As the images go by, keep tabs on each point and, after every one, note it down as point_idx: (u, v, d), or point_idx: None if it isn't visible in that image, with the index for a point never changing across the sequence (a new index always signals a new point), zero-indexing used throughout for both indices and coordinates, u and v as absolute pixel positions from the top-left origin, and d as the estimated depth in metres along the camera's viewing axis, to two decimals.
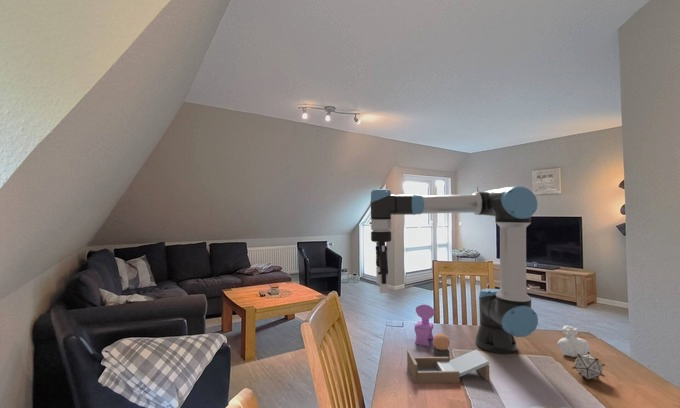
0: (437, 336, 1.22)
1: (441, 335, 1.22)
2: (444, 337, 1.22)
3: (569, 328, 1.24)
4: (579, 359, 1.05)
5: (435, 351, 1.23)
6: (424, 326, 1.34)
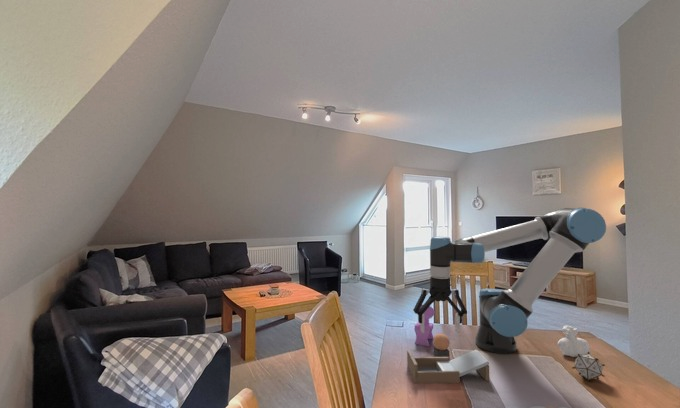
0: (437, 336, 1.22)
1: (441, 335, 1.22)
2: (444, 337, 1.22)
3: (569, 328, 1.24)
4: (579, 359, 1.05)
5: (435, 351, 1.23)
6: (424, 326, 1.34)
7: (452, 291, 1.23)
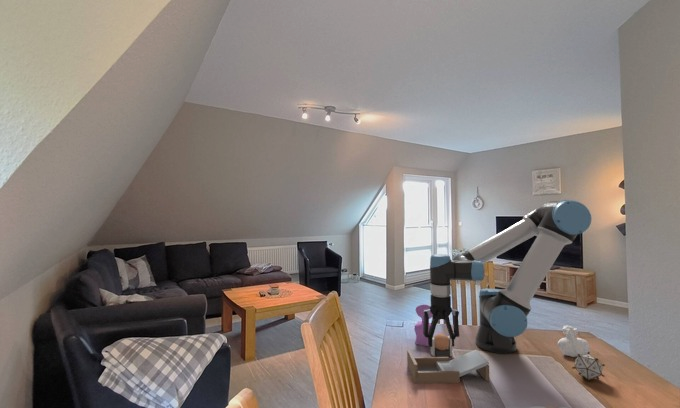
0: (437, 336, 1.22)
1: (441, 335, 1.22)
2: (444, 337, 1.22)
3: (569, 328, 1.24)
4: (579, 359, 1.05)
5: (435, 351, 1.23)
6: None
7: (452, 311, 1.23)
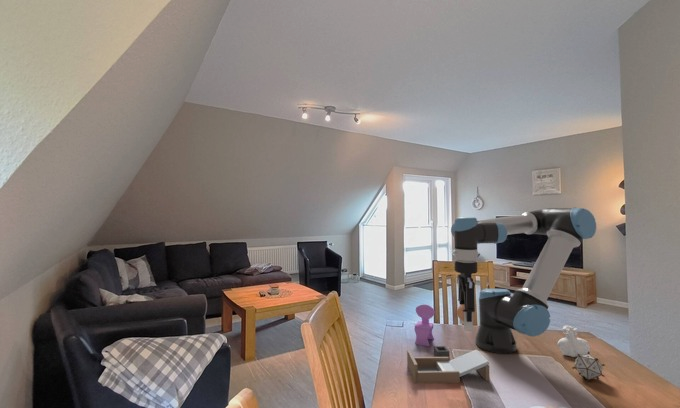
0: None
1: None
2: None
3: (569, 328, 1.24)
4: (579, 359, 1.05)
5: (435, 351, 1.23)
6: (424, 326, 1.34)
7: None
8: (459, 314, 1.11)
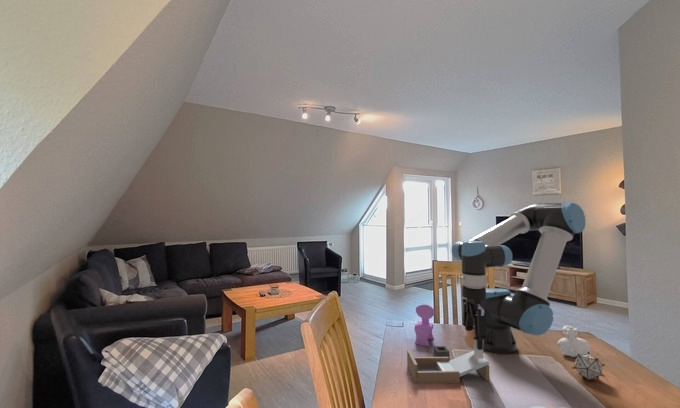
0: None
1: None
2: None
3: (569, 328, 1.24)
4: (579, 359, 1.05)
5: (435, 351, 1.23)
6: (424, 326, 1.34)
7: None
8: (468, 341, 1.08)
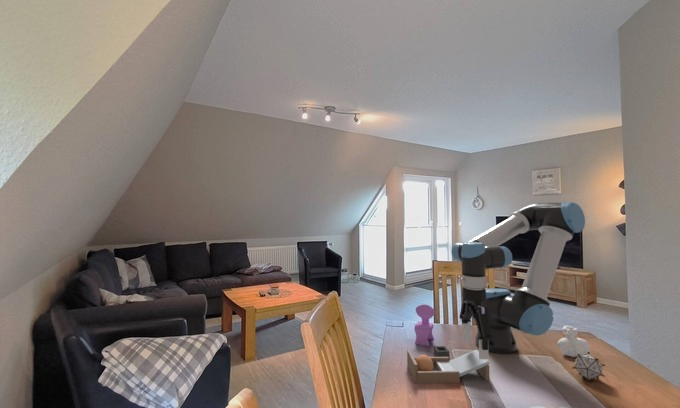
0: (423, 359, 1.07)
1: (421, 356, 1.09)
2: None
3: (569, 328, 1.24)
4: (579, 359, 1.05)
5: (435, 351, 1.23)
6: (424, 326, 1.34)
7: None
8: None
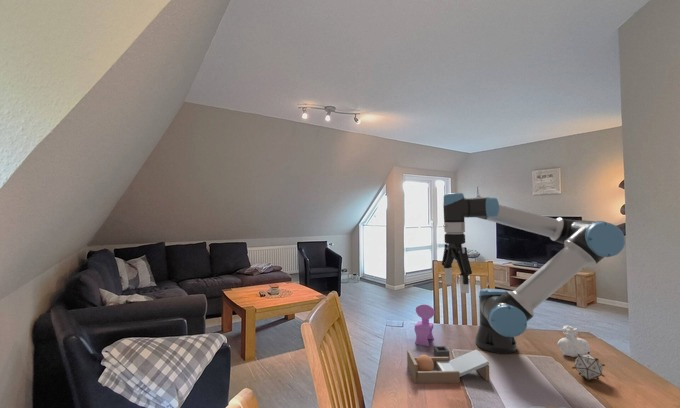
0: (424, 359, 1.07)
1: (422, 356, 1.09)
2: None
3: (569, 328, 1.24)
4: (579, 359, 1.05)
5: (435, 351, 1.23)
6: (424, 326, 1.34)
7: None
8: (419, 370, 1.07)
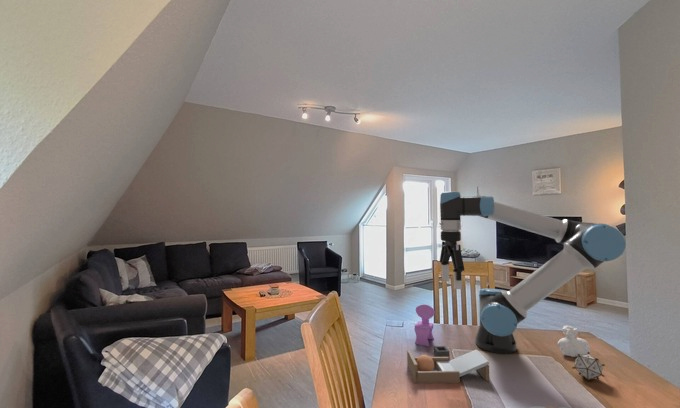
0: (424, 359, 1.07)
1: (423, 356, 1.09)
2: None
3: (569, 328, 1.24)
4: (579, 359, 1.05)
5: (435, 351, 1.23)
6: (424, 326, 1.34)
7: None
8: (419, 370, 1.07)
